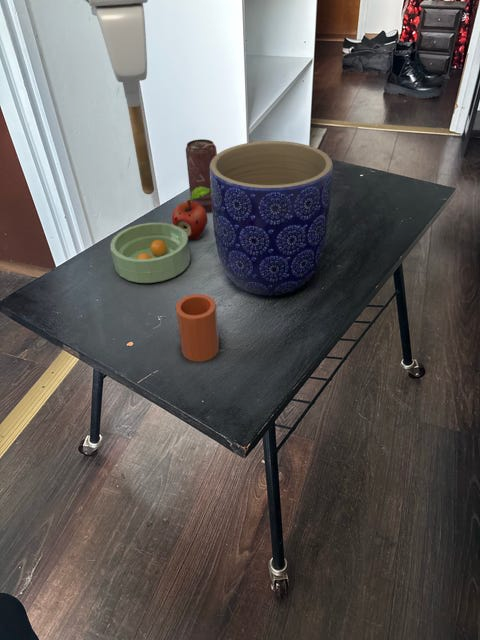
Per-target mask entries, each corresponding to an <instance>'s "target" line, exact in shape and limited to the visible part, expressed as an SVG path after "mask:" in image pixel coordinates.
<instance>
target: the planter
mask: <svg viewBox="0 0 480 640" xmlns="http://www.w3.org/2000/svg"><path fill="white" fill-rule="evenodd" d="M333 167H334V166H333V161H332V158H331V157H330V156H329V155H328V154H327V153H326V152H324V151H322V150H320V149H319V148H317V147H314V146H311V145H308V144H304V143H300V142H294V141H285V140H284V141H283V140H264V141H252V142H247V143H240V144H237V145H234V146H230V147H228V148H226V149H224V150H222V151H220V152H219V153H217V155H216V156H215V157H214V158H213V159H212V161H211V163H210V187H211V202H212V211H211V213H212V222H213V233H214V241H215V247H216V251H217V257H218V261H219V264H220V266H221V268H222V270H223V272H224V273H225V274H226V276H227V277H228V278H229V280H230V281H231V282H232V283H233V284H235V285H236V286H237V287H238V288H240V289H242V290H244V291H246V292H248V293H251V294H253V295H258V296H265V297H266V296H267V297H268V296H269V297H270V296H271V297H273V296H282V295H286V294H290V293H292V292H294V291H296V290H298V289H300V288H301V287H303V286H304V285H305V284H306V283H307V282H308V281H309V280H310V279H311V278H312V277H313V276H314V274H315V273H316V271H317V269H319V266H320V263H321V260H322V257H323V254H324V248H325V243H326V237H327V232H328V223H329V217H330V216H329V215H330V206H331V197H332V196H331V195H332V184H333V170H334V169H333Z"/></svg>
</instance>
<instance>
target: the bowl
mask: <svg viewBox="0 0 480 640" xmlns="http://www.w3.org/2000/svg"><path fill="white" fill-rule="evenodd" d="M155 240H162V241H164V242H165V244H166V246H167V250H166V252H165V254H163V255H162V256H156V255H154V254H153V253H152V252H151V249H150V246H151V244H152V242H153V241H155ZM109 245H110V252H111V257H112V261H113V266H114V270H115V271H116V273H117V274H118V275H119V276H120V277H121V278H123V279H125V280H126V281H129V282H133V283H140V284H152V283H158V282H164V281H167V280H170V279H173V278H175V277H176V276H178V275H180V274H181V273H183V272H184V271H185V270H186V269H187V268H188V267H189V265H190V262H191V253H190V244H189V239H188V236H187V234H186V232H185V231H184V230H183V229H182V228H180V227H178V226H175V225H173V223H169V222H168V223H167V222H145V223H140V224H136V225H132V226H129V227H127V228H125V229H122V230H121V231H119V232H118V233H117V234H116V235H115V236H114V237H112V240H111V241H110V244H109ZM142 253H147V254H149V255H150V256H151V257H152V258H151V259H137V257H138V256H139V255H140V254H142Z"/></svg>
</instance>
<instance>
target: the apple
mask: <svg viewBox="0 0 480 640" xmlns="http://www.w3.org/2000/svg"><path fill="white" fill-rule="evenodd" d="M209 190H210V189H209V188H205V187H201V186H200V187H196V188H195V189H194V190H193V191H192V195H191V198H187V199H186V201H185V202H184V201H183V202H181V203H179V204H178V205H177V206H176V207H175V208H174V209H173V211H172V214H171V222H172V224H173V225H175V226H178V227H180V228H182V229H183V230H184V231H185V232H186V234H187V236H188V240H198V239H200V238H201V237H202V235H203V232H204V230H205V229H206V227H207V224H208V214H207V213H206V211H205V209H204V207H203V206H202V205H200V204H199V203H197V202H191V200H192V199H195V198H200V197H203V196H204V195H206V194H208V193H209V192H210V191H209Z"/></svg>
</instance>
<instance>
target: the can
mask: <svg viewBox="0 0 480 640" xmlns="http://www.w3.org/2000/svg"><path fill="white" fill-rule="evenodd" d="M217 154H218V153H217V146H216V145H215V143H214V141H212V140H211V139H205V138H203V139H199V138H198V139H193V140H191V141H188V142H187V143H186V147H185V158H186V168H187V177H188V186H189V187H188V188H189V196H190V198H189V199H190V200H191V195H192V191H193V190H194V189H195V188H196V187H200V186H201V187H205V188H209V189H210V190H209V191H210V192H209V193H208V194H206V195H204V196H203V197H200V198H195V199H192V200H191V201H190V202H197V203H199V204H200V205H202V206H203V207H204V209H205V211H206V214H207V213H212V202H211V187H210V163H211V161H212V159H213V158H214V157H215V156H216V155H217Z"/></svg>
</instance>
